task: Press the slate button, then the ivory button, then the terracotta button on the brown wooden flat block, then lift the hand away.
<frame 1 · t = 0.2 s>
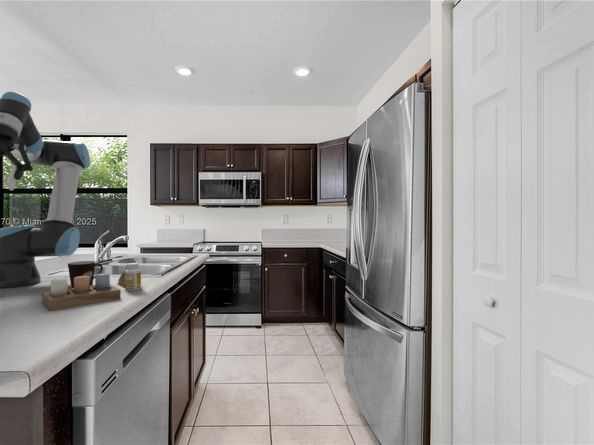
rock: (128, 286, 127), on the worktop
terracotta button: (81, 284, 106), point 5 cm above the worktop, slide at 0.0 cm
slate button: (102, 282, 110), point 5 cm above the worktop, slide at 0.0 cm
coffee mug: (86, 289, 122), on the worktop
ivory button: (59, 287, 102), point 5 cm above the worktop, slide at 0.0 cm
brown wooden flat block: (82, 299, 106), on the worktop
supplement bottle: (133, 289, 121), on the worktop
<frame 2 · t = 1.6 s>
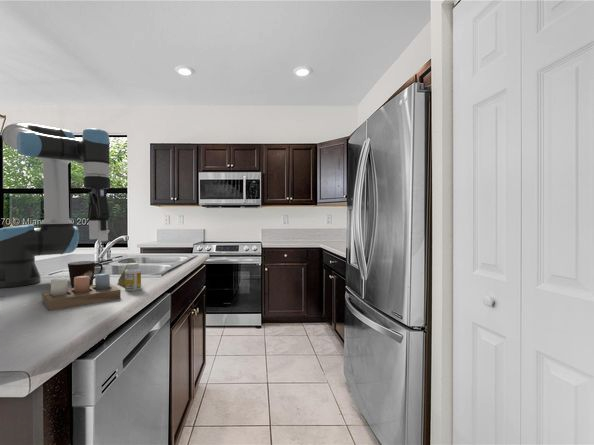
hand: (98, 240, 108), 19 cm above the worktop, tool pointing down, fingers open, 13 cm apart
nothing on the worktop moved.
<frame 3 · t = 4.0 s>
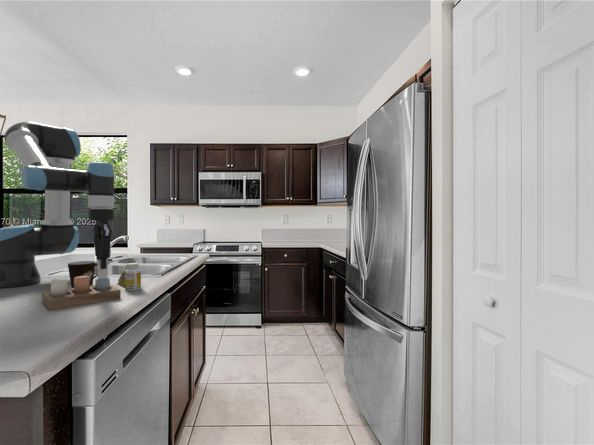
hand: (102, 278, 110), 6 cm above the worktop, tool pointing down, fingers closed
slate button: (102, 286, 110), point 4 cm above the worktop, slide at 1.4 cm, touching gripper
everything else where it was.
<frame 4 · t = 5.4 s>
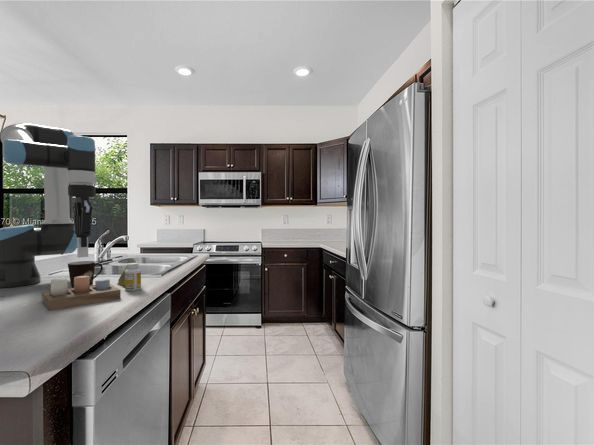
hand: (82, 256, 106), 14 cm above the worktop, tool pointing down, fingers closed
slate button: (102, 287, 110), point 3 cm above the worktop, slide at 1.9 cm
everything else where it was.
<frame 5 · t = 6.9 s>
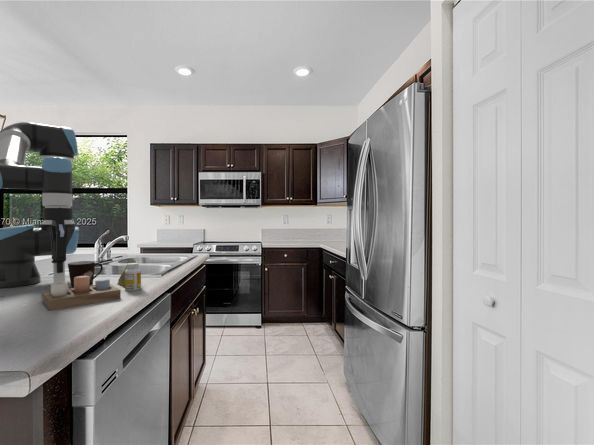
hand: (59, 282, 101), 7 cm above the worktop, tool pointing down, fingers closed
ivory button: (59, 291, 102), point 4 cm above the worktop, slide at 1.2 cm
everything else where it was.
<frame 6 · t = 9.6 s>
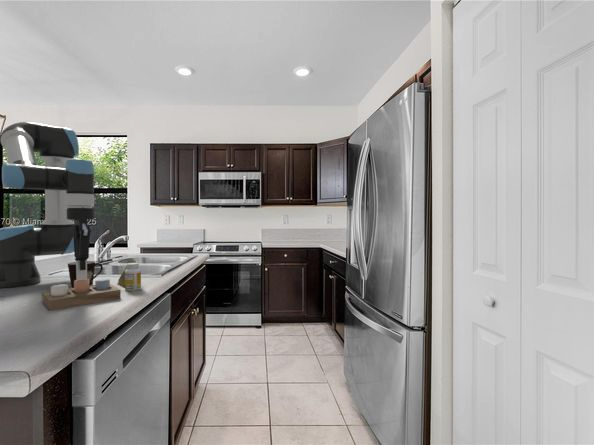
hand: (81, 279, 106), 7 cm above the worktop, tool pointing down, fingers closed
terracotta button: (81, 287, 106), point 4 cm above the worktop, slide at 1.1 cm, touching gripper
ivory button: (59, 293, 102), point 3 cm above the worktop, slide at 1.9 cm
everything else where it was.
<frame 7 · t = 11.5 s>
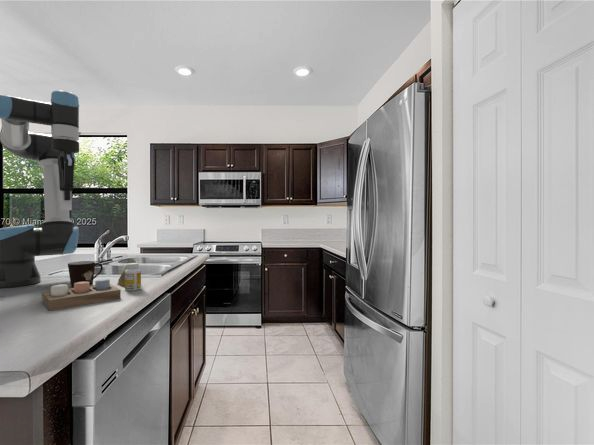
hand: (66, 210, 110), 29 cm above the worktop, tool pointing down, fingers closed
terracotta button: (81, 290, 106), point 3 cm above the worktop, slide at 1.9 cm
everything else where it was.
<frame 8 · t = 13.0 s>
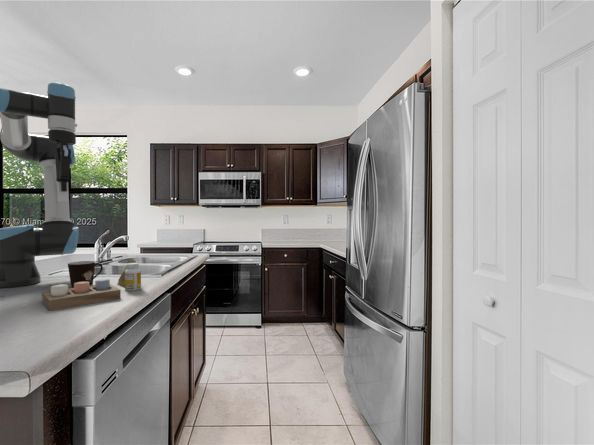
hand: (63, 201, 110), 32 cm above the worktop, tool pointing down, fingers closed
nothing on the worktop moved.
at the end: slate button slide at 1.9 cm; ivory button slide at 1.9 cm; terracotta button slide at 1.9 cm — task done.
